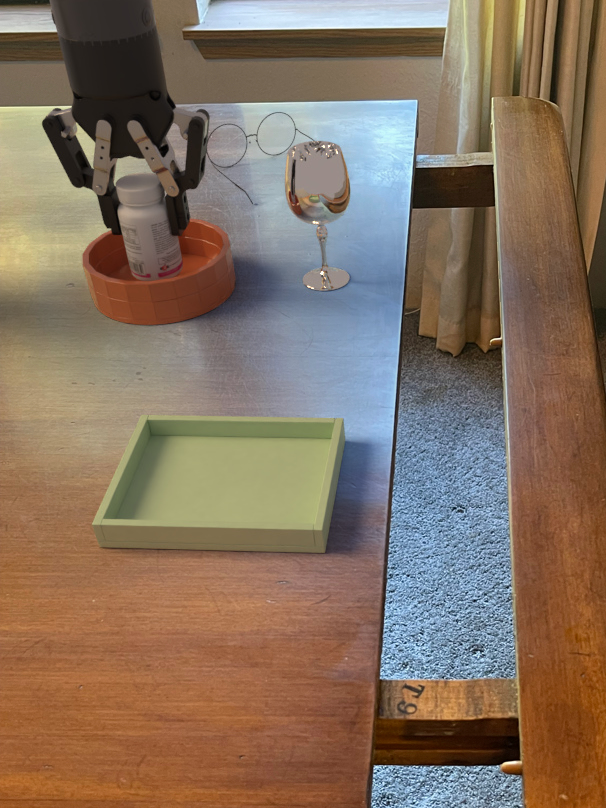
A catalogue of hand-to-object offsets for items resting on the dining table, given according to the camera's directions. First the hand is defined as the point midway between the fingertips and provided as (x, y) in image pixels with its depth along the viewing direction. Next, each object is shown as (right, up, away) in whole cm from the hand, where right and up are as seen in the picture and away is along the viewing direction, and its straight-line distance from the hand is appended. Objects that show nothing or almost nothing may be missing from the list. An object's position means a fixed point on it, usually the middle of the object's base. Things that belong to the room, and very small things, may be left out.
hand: (149, 231), depth 85 cm
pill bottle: (0, -3, +3) cm, 4 cm away
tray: (+11, -24, -18) cm, 32 cm away
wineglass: (+16, -3, +5) cm, 16 cm away
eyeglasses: (+8, +13, +23) cm, 28 cm away
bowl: (0, -4, +4) cm, 6 cm away
